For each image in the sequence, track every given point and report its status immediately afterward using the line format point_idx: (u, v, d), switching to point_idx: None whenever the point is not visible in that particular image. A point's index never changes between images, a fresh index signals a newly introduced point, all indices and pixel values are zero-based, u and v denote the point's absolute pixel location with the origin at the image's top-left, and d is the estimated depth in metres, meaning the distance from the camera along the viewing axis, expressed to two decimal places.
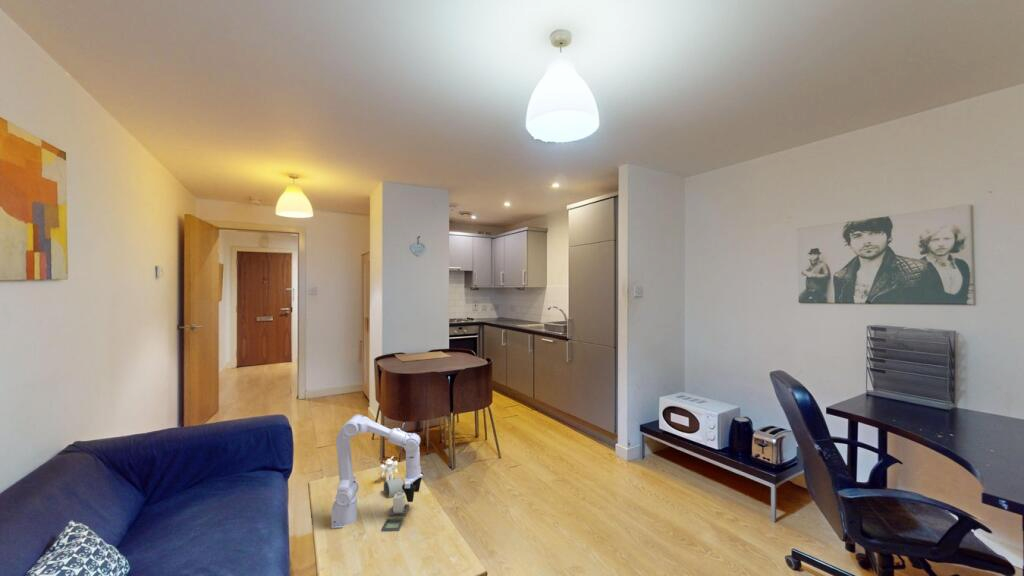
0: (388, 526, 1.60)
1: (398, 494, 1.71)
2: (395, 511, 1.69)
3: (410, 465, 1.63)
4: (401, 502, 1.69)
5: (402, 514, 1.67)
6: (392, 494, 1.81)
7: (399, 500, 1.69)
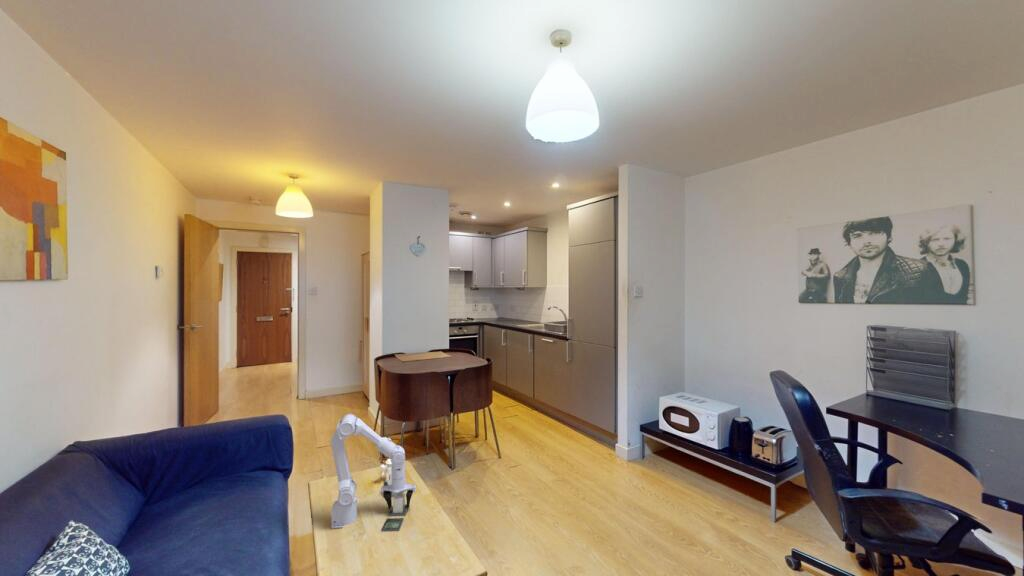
0: (388, 526, 1.60)
1: (398, 494, 1.71)
2: (395, 511, 1.69)
3: (397, 477, 1.67)
4: (401, 502, 1.69)
5: (402, 514, 1.67)
6: (392, 494, 1.82)
7: (399, 500, 1.69)
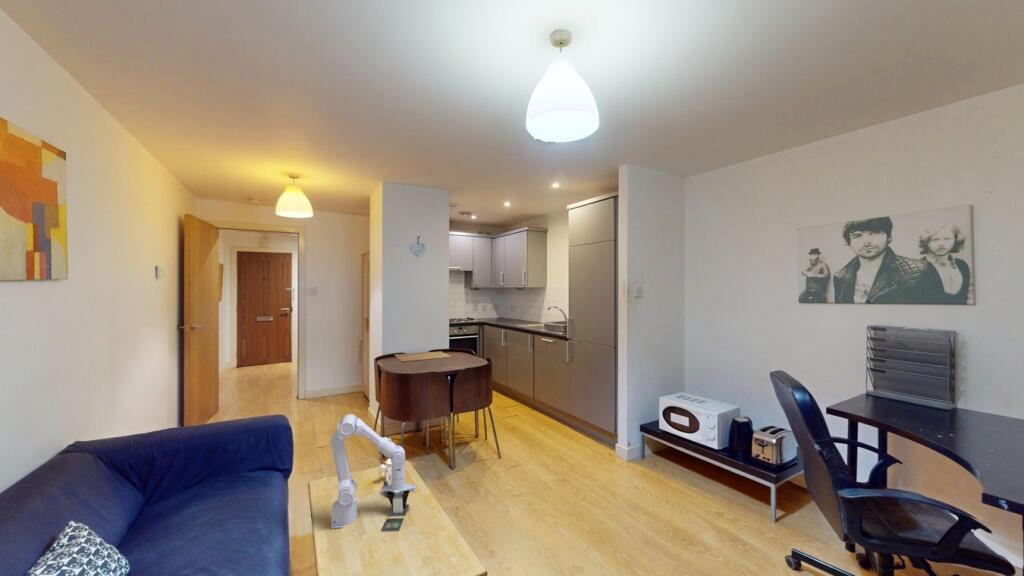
0: (388, 526, 1.60)
1: (398, 494, 1.71)
2: (395, 511, 1.69)
3: (397, 477, 1.67)
4: (401, 502, 1.69)
5: (402, 514, 1.67)
6: None
7: (399, 500, 1.69)
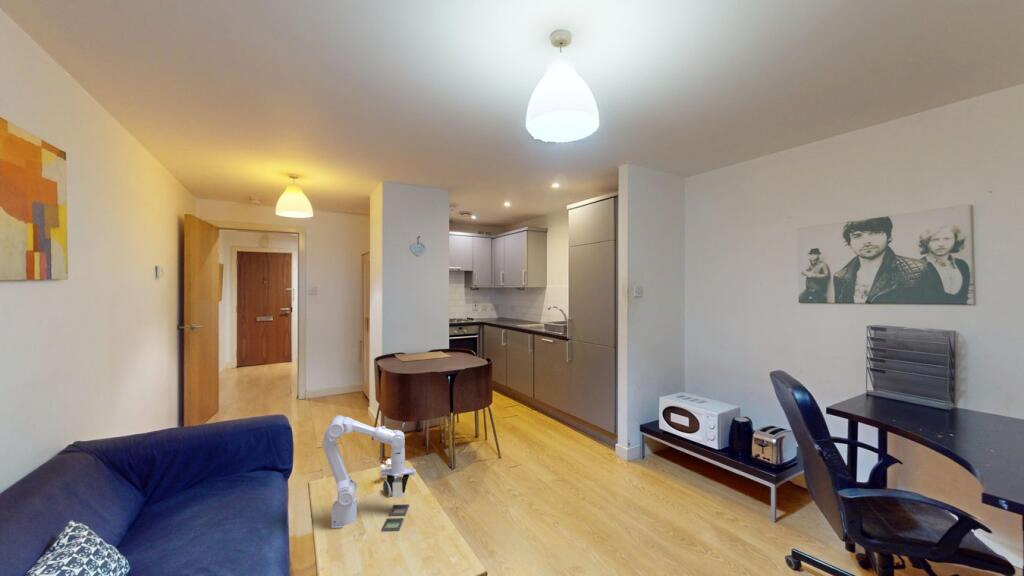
0: (388, 526, 1.60)
1: (398, 478, 1.71)
2: (395, 495, 1.68)
3: (396, 461, 1.67)
4: (401, 486, 1.68)
5: (402, 514, 1.67)
6: (391, 493, 1.82)
7: (399, 484, 1.68)
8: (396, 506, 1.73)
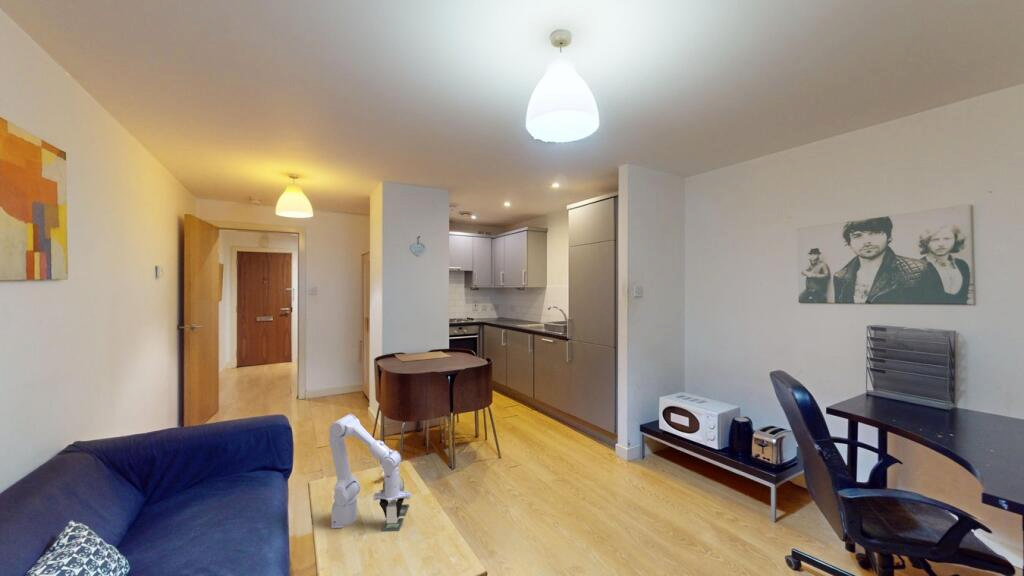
0: (388, 526, 1.60)
1: (392, 502, 1.62)
2: (389, 520, 1.59)
3: (387, 484, 1.58)
4: (395, 510, 1.59)
5: (402, 514, 1.67)
6: None
7: (393, 508, 1.59)
8: None
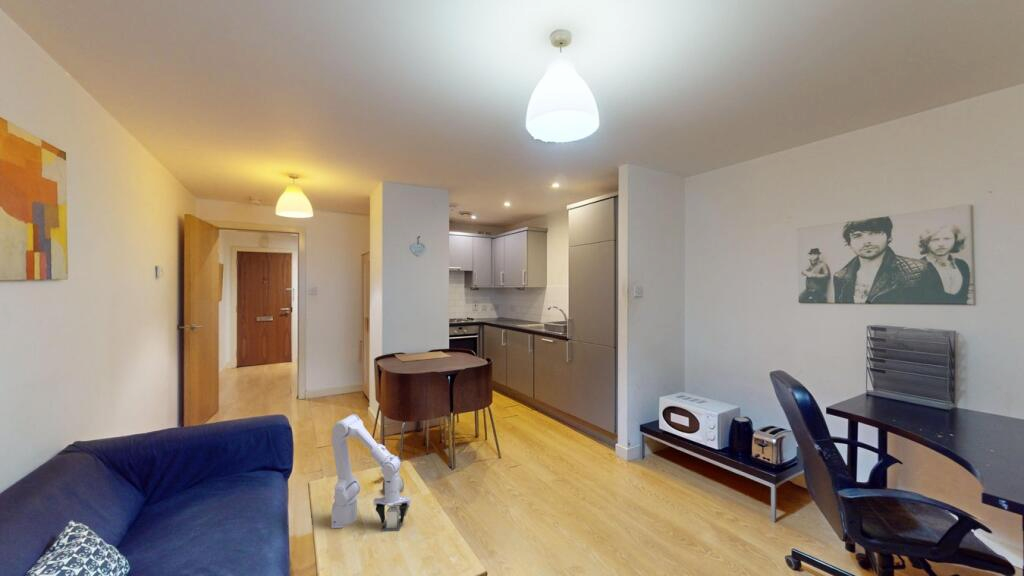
0: None
1: (392, 507, 1.61)
2: (389, 525, 1.59)
3: (387, 489, 1.58)
4: (395, 516, 1.59)
5: None
6: None
7: (393, 513, 1.59)
8: None
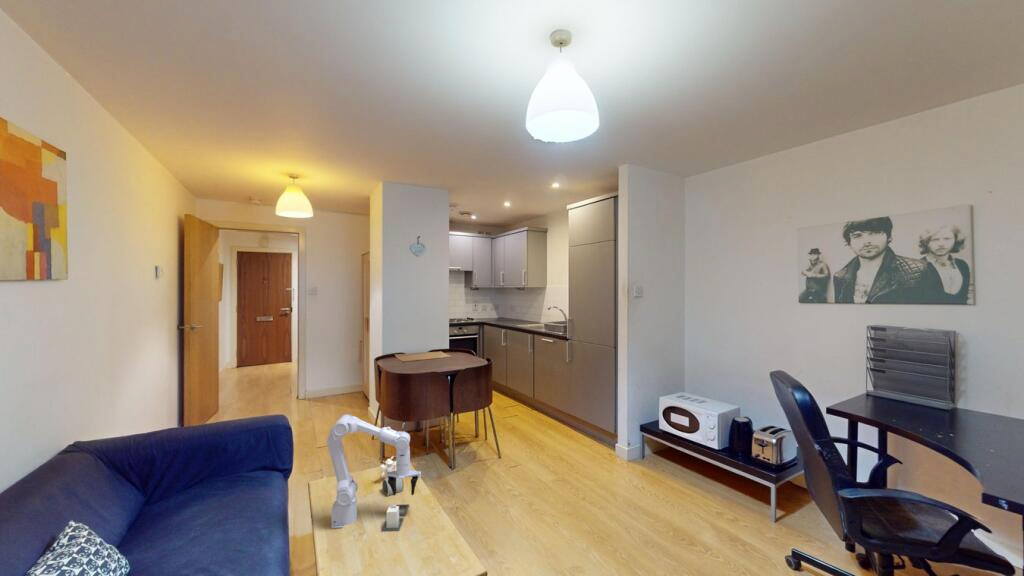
0: None
1: (392, 507, 1.61)
2: (389, 525, 1.59)
3: (401, 463, 1.65)
4: (395, 516, 1.59)
5: (402, 514, 1.67)
6: (391, 492, 1.83)
7: (393, 513, 1.59)
8: None
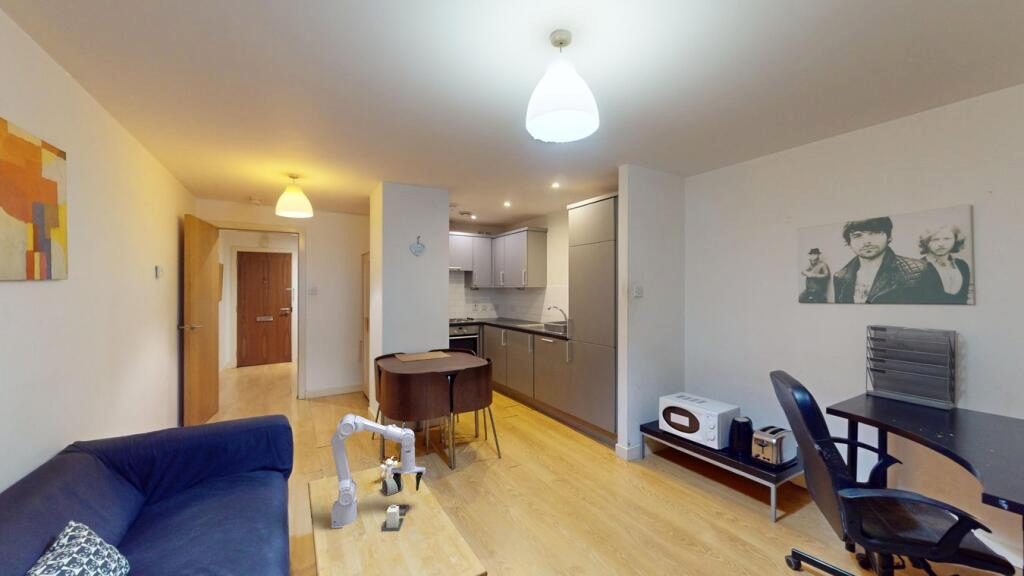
0: None
1: (392, 507, 1.61)
2: (389, 525, 1.59)
3: (407, 459, 1.68)
4: (395, 516, 1.59)
5: (402, 514, 1.67)
6: (390, 492, 1.83)
7: (393, 513, 1.59)
8: None
